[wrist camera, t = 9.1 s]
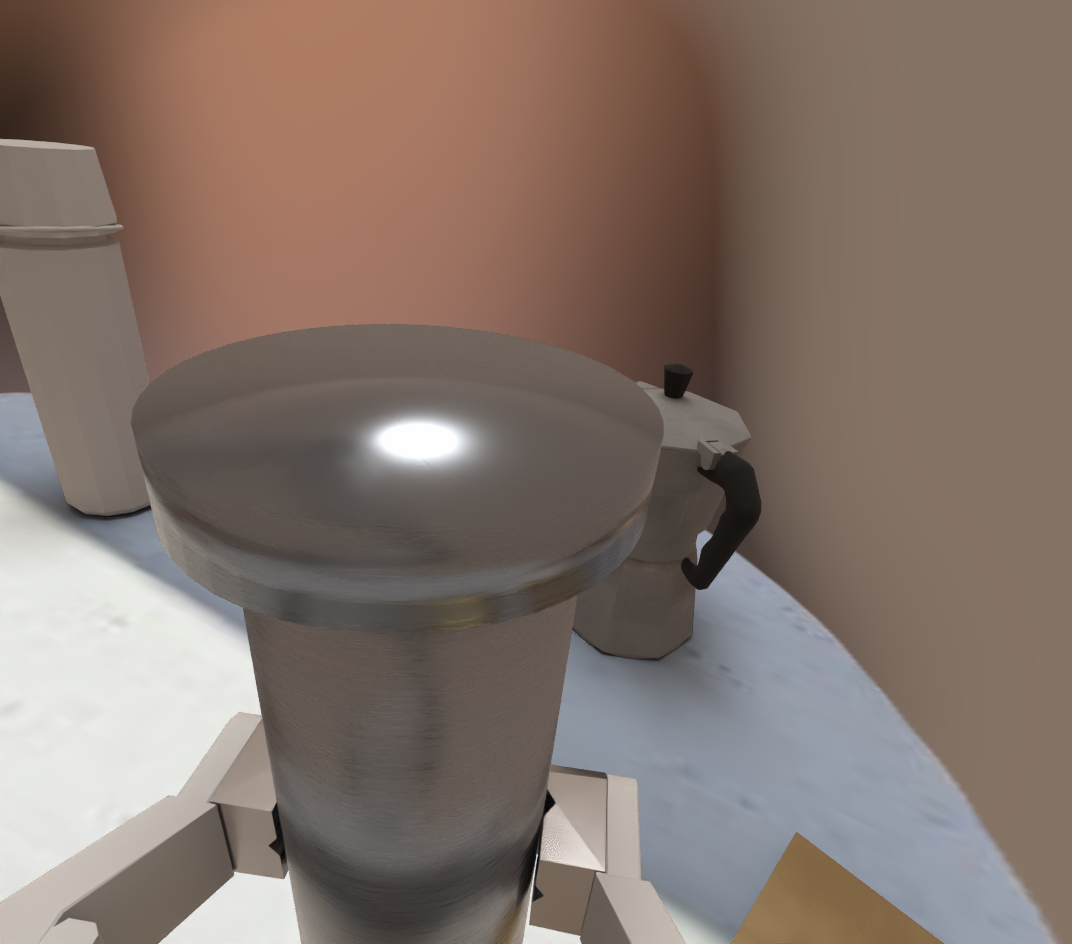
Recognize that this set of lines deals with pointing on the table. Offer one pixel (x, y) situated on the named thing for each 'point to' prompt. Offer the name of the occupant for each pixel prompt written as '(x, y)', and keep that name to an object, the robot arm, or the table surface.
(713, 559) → the coffeepot
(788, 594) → the table surface
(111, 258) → the water bottle
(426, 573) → the pin
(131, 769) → the table surface
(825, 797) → the table surface
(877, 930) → the octagonal peg holder board
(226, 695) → the table surface
